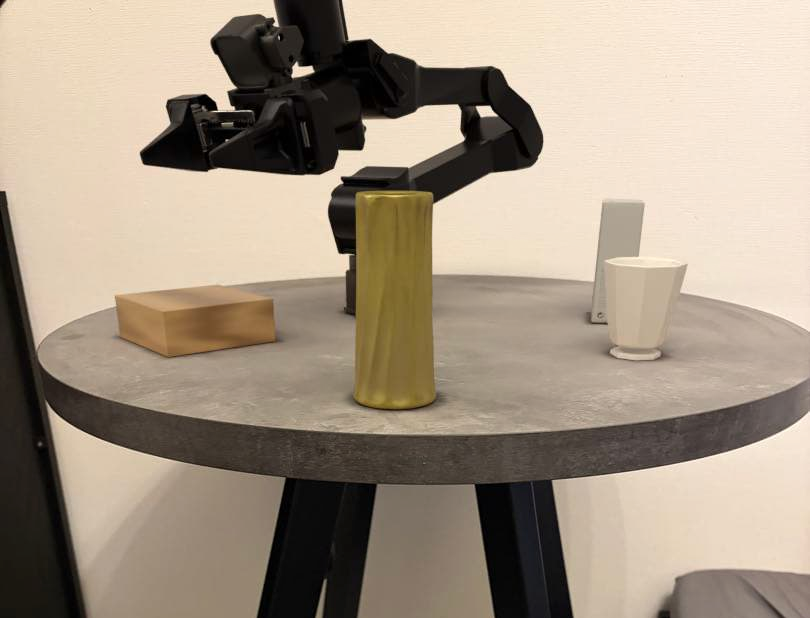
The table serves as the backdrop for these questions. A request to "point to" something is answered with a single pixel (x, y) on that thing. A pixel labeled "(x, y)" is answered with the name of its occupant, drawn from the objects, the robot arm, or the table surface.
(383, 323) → the vase
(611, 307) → the cup
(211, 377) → the table surface
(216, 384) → the table surface
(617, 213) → the cosmetic box
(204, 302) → the oak block
